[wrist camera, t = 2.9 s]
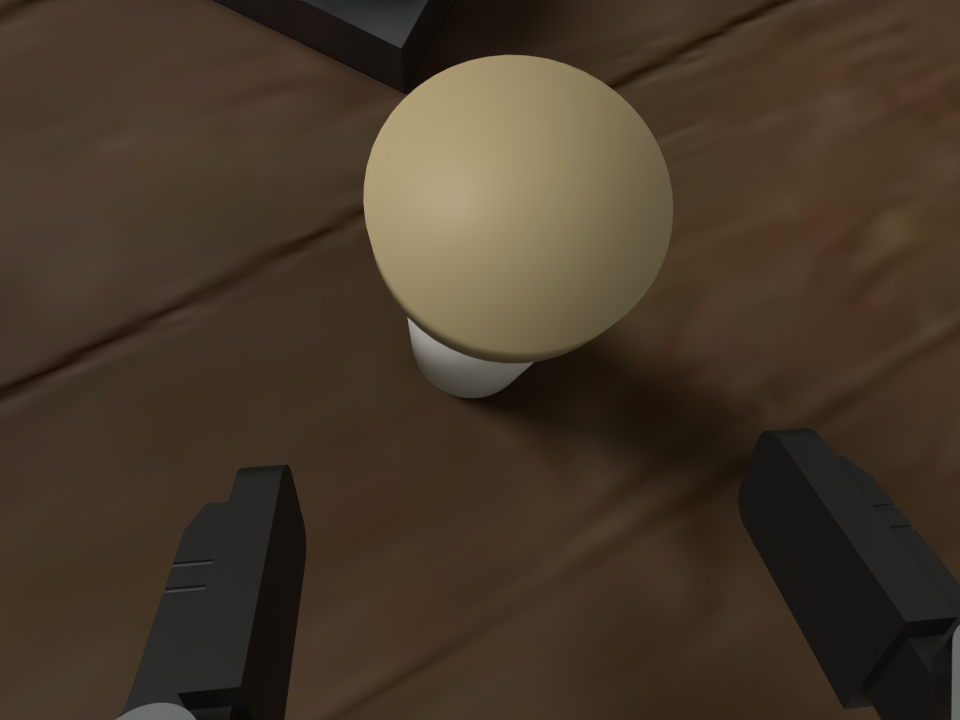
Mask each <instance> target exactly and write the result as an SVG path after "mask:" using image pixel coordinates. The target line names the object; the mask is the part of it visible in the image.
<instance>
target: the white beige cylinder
mask: <svg viewBox="0 0 960 720" xmlns="http://www.w3.org/2000/svg"><path fill="white" fill-rule="evenodd" d="M364 211H365V219H366V226H367V230H368V233H369V237H370V241H371V245H372V248H373V252H374V256H375V259H376V263H377V267H378V270H379V272H380V274H381V277H382V279H383V281H384V284H385V286H386V287H387V289H388V291H389V293H390V294H391V296H392V298H393V299H394V301H395V302H396V304H397V305H398V306H399V307H400V309H401V310H402V311H403V312H404V314H405V315H406V316H407V317H408V324H409V330H410V337H411V343H412V350H413V354H414V358H415V360H416V363H417V365H418V367H419V369H420V370H421V372H422V373H423V375H424V376H425V377H426V378H427V379H428V380H429V381H430V382H431V383H432V384H433V385H434V386H436V387H437V388H438V389H440V390H442V391H444V392H445V393H448V394H450V395H453V396H457V397H462V398H481V397H486V396H489V395H492V394H494V393H497V392H499V391H501V390H502V389H504V388H505V387H507V386H508V385H509V384H510V383H512V382H513V381H514V380H515V379H516V378H517V377H518V376H519V375H520V374H521V373H523V372H524V371H525V370H526V369H527V368H528V367H529V366H530V365H531V364H533V363H534V362H538V361H544V360H547V359H551V358H555V357H558V356H561V355H564V354H566V353H568V352H571V351H573V350H576V349H578V348H579V347H581V346H583V345H584V344H586V343H588V342H589V341H591V340H593V339H594V338H595V337H597V336H598V335H600V334H601V333H602V332H604V331H605V330H607V329H608V328H609V327H611V326H612V325H613V324H615V323H616V322H617V321H618V320H620V319H621V318H622V317H623V316H625V315H626V314H627V313H628V312H629V311H630V310H631V309H632V308H633V307H634V306H635V305H636V304H637V303H638V302H639V301H640V300H641V299H642V297H643V296H644V294H645V293H646V292H647V290H648V289H649V287H650V286H651V285H652V283H653V281H654V279H655V278H656V276H657V274H658V272H659V270H660V268H661V266H662V263H663V261H664V258H665V255H666V252H667V250H668V246H669V241H670V236H671V232H672V222H673V197H672V188H671V183H670V178H669V173H668V170H667V167H666V164H665V161H664V158H663V155H662V153H661V151H660V148H659V146H658V144H657V142H656V140H655V138H654V136H653V135H652V133H651V132H650V130H649V129H648V127H647V126H646V124H645V122H644V121H643V120H642V119H641V117H640V116H639V115H638V114H637V113H636V111H635V110H634V109H633V108H632V107H631V106H630V105H629V104H628V103H627V102H626V101H625V100H624V99H623V98H622V97H621V96H620V95H619V94H618V93H616V92H615V91H614V90H612V89H611V88H610V87H608V86H607V85H606V84H604V83H603V82H601V81H600V80H598V79H596V78H595V77H593V76H591V75H589V74H587V73H586V72H584V71H581V70H579V69H577V68H574V67H572V66H569V65H567V64H564V63H561V62H557V61H553V60H550V59H546V58H540V57H533V56H525V55H501V56H489V57H484V58H479V59H475V60H470V61H467V62H464V63H461V64H458V65H455V66H453V67H450V68H448V69H446V70H444V71H442V72H440V73H438V74H436V75H434V76H433V77H431V78H430V79H428V80H427V81H425V82H424V83H422V84H421V85H419V86H418V87H417V88H416V89H414V90H413V91H412V92H411V93H410V94H409V95H408V96H407V97H405V98H404V99H403V100H402V102H401V103H400V104H399V105H398V106H397V107H396V109H395V110H394V111H393V112H392V113H391V115H390V116H389V118H388V119H387V121H386V122H385V124H384V126H383V127H382V129H381V130H380V133H379V135H378V137H377V139H376V141H375V143H374V146H373V148H372V151H371V155H370V158H369V161H368V164H367V169H366V176H365V182H364Z"/></svg>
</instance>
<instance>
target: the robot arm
mask: <svg viewBox="0 0 960 720" xmlns="http://www.w3.org/2000/svg"><path fill="white" fill-rule="evenodd" d="M739 511H740V515H741V519H742V521H743V524H744V526H745V528H746V530H747V532H748V534H749V535H750V537H751V539H752V541H753V543H754V545H755V546H756V548H757V550H758V552H759V554H760V556H761V557H762V559H763V561H764V563H765V565H766V567H767V568H768V570H769V572H770V574H771V576H772V578H773V579H774V581H775V583H776V585H777V587H778V589H779V590H780V592H781V594H782V596H783V598H784V600H785V601H786V603H787V605H788V607H789V609H790V611H791V612H792V614H793V616H794V618H795V620H796V622H797V624H798V625H799V627H800V629H801V631H802V633H803V635H804V636H805V638H806V640H807V642H808V644H809V646H810V647H811V649H812V651H813V653H814V655H815V657H816V658H817V660H818V662H819V664H820V666H821V668H822V669H823V671H824V673H825V675H826V677H827V679H828V680H829V682H830V684H831V686H832V688H833V690H834V691H835V693H836V695H837V697H838V699H839V701H840V702H841V704H842V706H843V708H844V709H850V708H859V707H868V706H874V708H875V710H876V711H877V713H878V715H879V716H880V718H881V720H960V584H959V583H958V582H957V581H956V579H955V578H954V577H953V576H952V574H951V573H950V572H949V571H948V569H947V568H946V567H945V566H944V564H943V563H942V562H941V561H940V560H939V558H938V557H937V556H936V555H935V553H934V552H933V551H932V550H931V548H930V547H929V546H928V545H927V543H926V542H925V541H924V540H923V538H922V537H921V536H920V535H919V534H918V532H917V531H916V530H912V529H911V524H910V522H909V521H908V520H907V519H906V517H905V516H904V515H903V514H902V512H901V511H900V510H899V509H898V508H897V509H895V507H894V503H893V501H892V500H891V499H890V498H889V496H888V495H887V494H886V493H885V491H884V490H883V489H882V488H881V486H880V485H879V484H878V483H877V481H876V480H875V479H874V478H873V477H872V476H871V475H869V474H868V473H866V472H865V471H864V470H862V469H861V468H860V467H858V466H857V465H855V464H854V463H853V462H851V461H850V460H849V459H847V458H846V457H844V456H838V457H835V456H834V454H833V453H832V452H831V450H830V449H829V448H828V447H827V445H826V444H825V443H824V441H823V440H822V439H821V438H820V436H819V435H818V434H817V433H816V432H815V431H814V430H812V429H809V428H802V429H789V430H775V431H765V432H763V433H762V434H761V435H760V436H759V438H758V440H757V443H756V445H755V448H754V451H753V454H752V457H751V459H750V462H749V465H748V468H747V471H746V473H745V476H744V479H743V482H742V485H741V487H740V491H739ZM305 560H306V534H305V526H304V521H303V517H302V513H301V509H300V505H299V501H298V497H297V493H296V489H295V485H294V481H293V477H292V473H291V470H290V467H289V466H288V465H276V466H262V467H248V468H240V469H239V471H238V472H237V474H236V478H235V481H234V485H233V489H232V492H231V496H230V500H229V502H223V503H210V504H206V505H205V506H204V507H203V508H202V509H201V511H200V512H199V513H198V514H197V516H196V517H195V518H194V519H193V521H192V522H191V523H190V524H189V526H188V527H187V528H186V529H185V530H184V532H183V535H182V538H181V541H180V544H179V547H178V550H177V553H176V556H175V559H174V568H172V569H171V572H170V575H169V578H168V581H167V584H166V587H165V590H166V591H165V595H163V596H162V599H161V602H160V605H159V608H158V611H157V614H156V617H155V620H154V623H153V626H152V629H151V633H150V636H149V639H148V642H147V645H146V648H145V651H144V654H143V657H142V660H141V663H140V666H139V669H138V672H137V675H136V678H135V681H134V684H133V687H132V690H131V693H130V696H129V698H128V701H127V703H126V705H125V707H124V708H123V710H122V712H121V714H120V715H119V717H118V718H117V719H116V720H284V717H285V710H286V702H287V695H288V688H289V680H290V673H291V665H292V658H293V650H294V643H295V635H296V628H297V620H298V613H299V605H300V598H301V590H302V583H303V576H304V568H305Z"/></svg>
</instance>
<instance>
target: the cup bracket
mask: <svg viewBox="0 0 960 720" xmlns="http://www.w3.org/2000/svg"><path fill="white" fill-rule="evenodd" d="M215 1H217V2H219V3H221V4H223V5H225V6H227V7H229V8H231V9H233V10H235V11H237V12H240V13H242V14H244V15H246V16H248V17H250V18H252V19H254V20H256V21H258V22H260V23H262V24H264V25H266V26H268V27H270V28H272V29H274V30H276V31H279V32H281V33H283V34H285V35H287V36H289V37H291V38H293V39H295V40H297V41H299V42H301V43H303V44H305V45H307V46H309V47H311V48H313V49H316V50H318V51H320V52H322V53H324V54H326V55H328V56H330V57H332V58H334V59H336V60H338V61H340V62H342V63H344V64H346V65H348V66H350V67H353V68H355V69H357V70H359V71H361V72H363V73H365V74H367V75H369V76H371V77H373V78H375V79H377V80H379V81H381V82H383V83H385V84H387V85H390V86H392V87H394V88H396V89H398V90H400V91H402V92H405V90H406V88H407V87H408V85H409V83H410V81H411V79H412V77H413V76H414V74H415V72H416V70H417V68H418V67H419V65H420V63H421V61H422V59H423V57H424V56H425V54H426V52H427V50H428V48H429V47H430V45H431V43H432V41H433V39H434V37H435V36H436V34H437V32H438V30H439V28H440V27H441V25H442V23H443V21H444V19H445V17H446V16H447V14H448V12H449V10H450V8H451V7H452V5H453V3H454V1H455V0H215Z"/></svg>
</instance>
